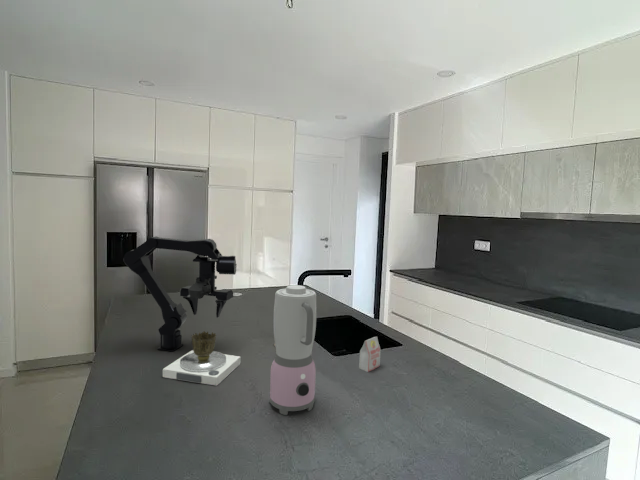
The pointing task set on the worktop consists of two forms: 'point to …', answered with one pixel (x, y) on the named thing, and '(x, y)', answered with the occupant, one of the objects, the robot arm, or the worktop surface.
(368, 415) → the worktop surface
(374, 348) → the milk carton
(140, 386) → the worktop surface
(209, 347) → the cup
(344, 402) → the worktop surface
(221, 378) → the scale base
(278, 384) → the blender
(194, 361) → the scale pan
